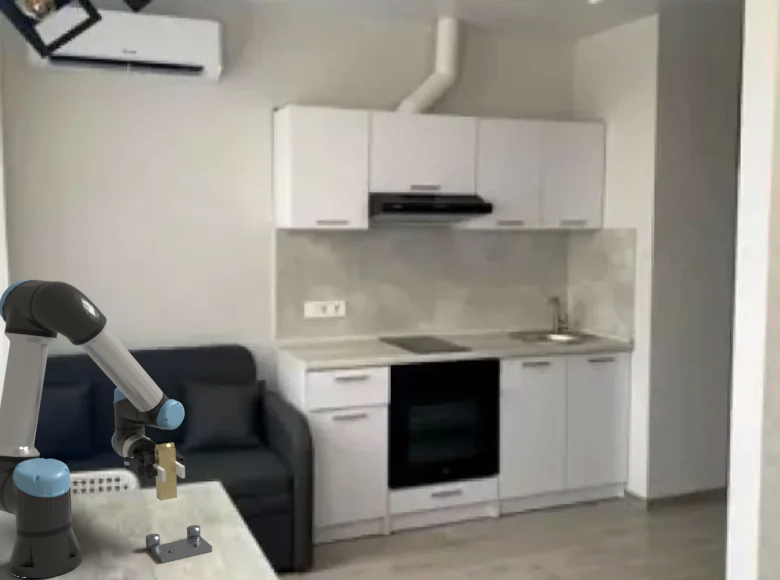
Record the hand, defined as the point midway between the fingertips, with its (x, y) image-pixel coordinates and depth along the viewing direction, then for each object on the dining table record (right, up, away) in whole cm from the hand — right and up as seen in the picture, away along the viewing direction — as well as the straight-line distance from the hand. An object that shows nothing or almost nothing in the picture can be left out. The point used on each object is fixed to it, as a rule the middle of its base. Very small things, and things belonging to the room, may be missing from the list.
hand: (173, 474), depth 199 cm
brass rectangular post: (-3, -7, +5) cm, 9 cm away
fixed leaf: (+1, -18, +1) cm, 18 cm away
